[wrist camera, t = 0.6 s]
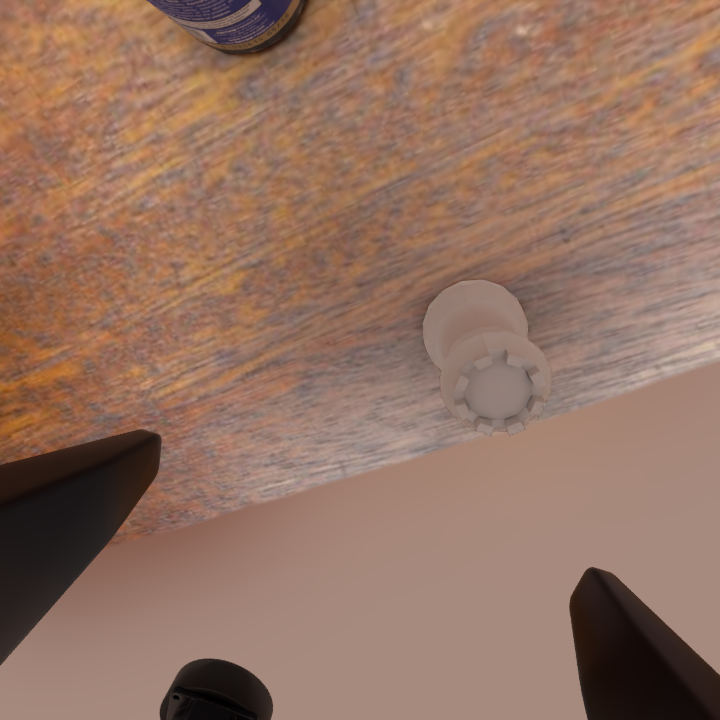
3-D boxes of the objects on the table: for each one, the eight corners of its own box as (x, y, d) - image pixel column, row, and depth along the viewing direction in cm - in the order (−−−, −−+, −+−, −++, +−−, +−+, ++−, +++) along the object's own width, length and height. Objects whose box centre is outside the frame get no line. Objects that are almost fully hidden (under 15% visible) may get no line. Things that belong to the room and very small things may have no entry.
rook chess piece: (411, 293, 19) (400, 342, 12) (512, 264, 18) (570, 298, 11) (435, 382, 21) (440, 478, 13) (532, 360, 20) (597, 449, 12)
